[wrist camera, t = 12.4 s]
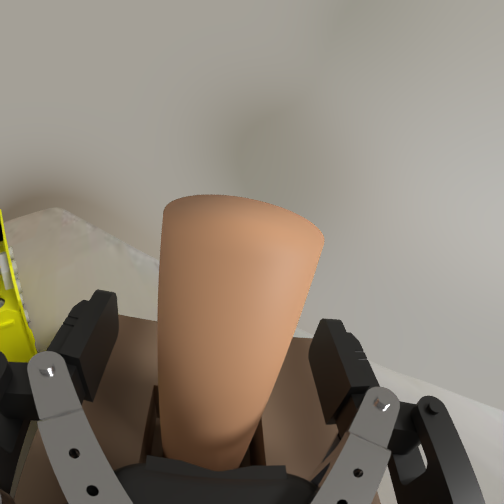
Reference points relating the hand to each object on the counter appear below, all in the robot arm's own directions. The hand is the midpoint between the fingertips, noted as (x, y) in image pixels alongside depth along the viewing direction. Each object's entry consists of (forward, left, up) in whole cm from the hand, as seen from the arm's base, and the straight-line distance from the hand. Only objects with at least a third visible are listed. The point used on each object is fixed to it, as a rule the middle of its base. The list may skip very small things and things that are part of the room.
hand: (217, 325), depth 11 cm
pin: (0, -2, -9) cm, 9 cm away
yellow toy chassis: (-20, +7, -11) cm, 24 cm away
